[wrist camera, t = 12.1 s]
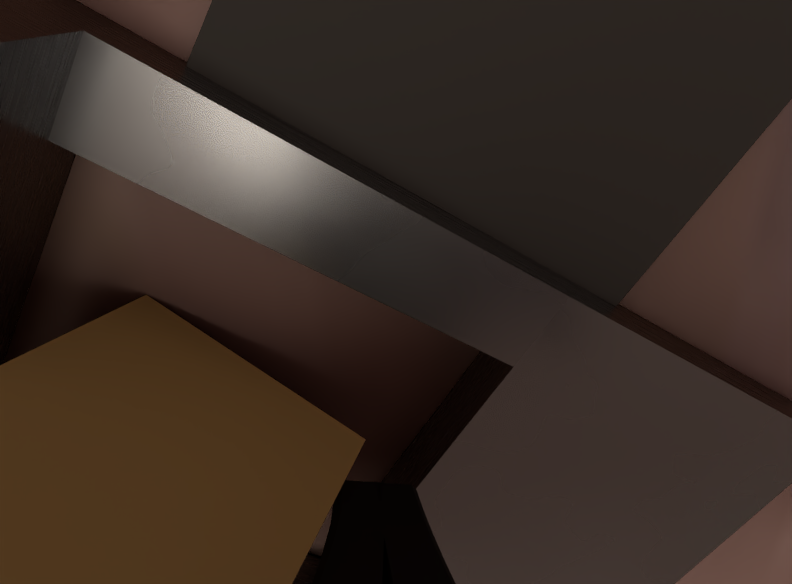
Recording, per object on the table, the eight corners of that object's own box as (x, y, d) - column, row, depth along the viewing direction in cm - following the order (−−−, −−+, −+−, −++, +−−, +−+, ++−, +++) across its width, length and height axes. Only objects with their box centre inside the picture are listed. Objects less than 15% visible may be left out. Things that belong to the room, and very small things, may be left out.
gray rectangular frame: (794, 403, 12) (920, 521, 9) (512, 664, 16) (544, 802, 13) (45, -16, 8) (-120, -21, 5) (-98, 478, 11) (-236, 626, 9)
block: (365, 439, 10) (177, 805, 5) (257, 595, 11) (33, 989, 6) (145, 294, 10) (-271, 495, 5) (70, 470, 12) (-296, 757, 6)
